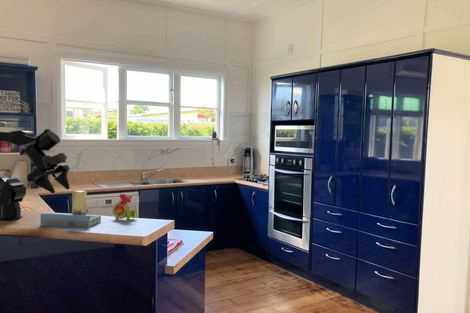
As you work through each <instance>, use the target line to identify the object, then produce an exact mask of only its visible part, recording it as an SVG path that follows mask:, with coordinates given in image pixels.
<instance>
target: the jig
mask: <svg viewBox="0 0 470 313" xmlns="http://www.w3.org/2000/svg"><path fill="white" fill-rule="evenodd" d="M101 222H102V216H101V215H97V214H96V215H95V214H93V215H91V214H86V215H73V214H72V213H46V212H44V213H43V212H42V213H40V227H54V228H55V227H57V228H78V229H89V228H92V227H93V226H95V225H98V224H99V223H101Z"/></svg>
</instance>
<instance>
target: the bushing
mask: <svg viewBox="0 0 470 313" xmlns="http://www.w3.org/2000/svg"><path fill="white" fill-rule="evenodd" d="M87 195H88V191H87V190H73V191H72V196H71V198H72V205H71V206H72V210H71V211H72V212H71V214H73V215H87V210H88V209H87V205H88V204H87V203H88V202H87V200H88V199H87V198H88V196H87Z"/></svg>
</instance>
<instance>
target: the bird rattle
mask: <svg viewBox="0 0 470 313" xmlns="http://www.w3.org/2000/svg"><path fill="white" fill-rule="evenodd" d="M119 198H120V200H118V201H116V202H115V203H114V204H113V206H112V210H111V211H112V214H113V217H114V218H115V220H123V219H125V218H126V222H128V221H129V219H131V217H132V218H136V217H135V215H136V213H137V211H135V210H130V205H129V204H128V203H131V202H132V198H133V196H132V195H128V196H127V195H126V194H125V193H122V194H121V193H120V194H119Z"/></svg>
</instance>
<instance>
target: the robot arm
mask: <svg viewBox="0 0 470 313" xmlns="http://www.w3.org/2000/svg"><path fill="white" fill-rule="evenodd" d="M0 142H7V143H10V144H12V145H16V146H26V147H25V148H24V147H21V148H20V152H19V155H20V156H27V157H28V159H29V160H30V162H31V163H32V164H31V165H30V166H31V167H32V168H34V169H33V170H32V171H30V172H29V173H28V174H27V175H26V180H27V181H28V182H29V183H30V184H31V183H32V184H33V185H36V186H38V187H40V188H43V190H46V191H47V192H50V193H52V194H55V193H56V190H55V188H54V186H53V184H52V183H51V181H50V179H49V176H52V177H53V178H54V180H55V181H56V182H57V183H58V184H60V185H61V186H62V187H63V188H64V189H66V190H67V191H68V190H69V189H70V188H71V186H70V183H69V179H68V174H69V172H70V169H71V167H70V166H69V165H68V164H65V163H66V162H67V158H68V156H67V155H66V154H65V153H64V152H60V153H57V154H55V155H52V156H51V155H47V154H46V152H45V151H47V152H49V151H51V150H52V149H53V148H54V147H56V146H57V145H58V144H59V143H61V138H60V136H59V135H57V134H56V133H55V132H53V131H52V130H51V129H50V128H46V129H44V130H43V131H42V133H40V134H39V135H36V134H35V133H34V132H33V131H31V130H13V131H11V130H10V131H0ZM62 163H64V164H62ZM26 195H27V188H26V186H25V183H23V182H21V181H20V179H19V178H17V177H15V178H9V177H8V176H7V175H6V174H5V173H4V172H2V171H1V170H0V221H15V220H18V219H21V218H22V217H23V216H22V215H21V214H22V212H21V211H22V210H21V209H22V208H21V205H20V203H22V202H23V199H24V198H25V196H26Z"/></svg>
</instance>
